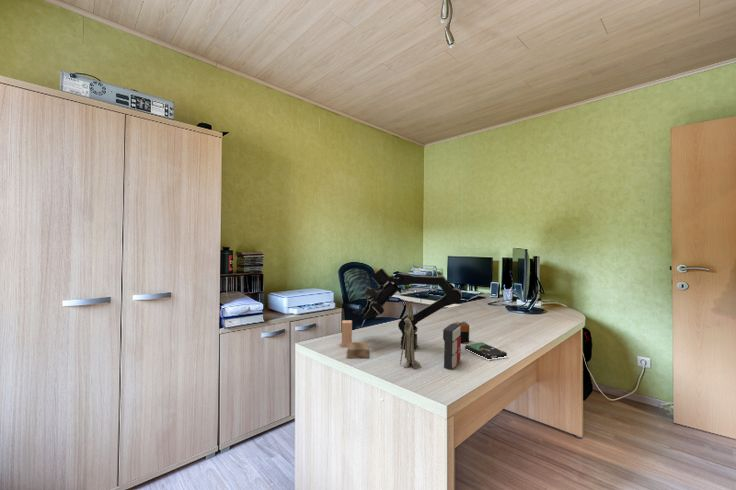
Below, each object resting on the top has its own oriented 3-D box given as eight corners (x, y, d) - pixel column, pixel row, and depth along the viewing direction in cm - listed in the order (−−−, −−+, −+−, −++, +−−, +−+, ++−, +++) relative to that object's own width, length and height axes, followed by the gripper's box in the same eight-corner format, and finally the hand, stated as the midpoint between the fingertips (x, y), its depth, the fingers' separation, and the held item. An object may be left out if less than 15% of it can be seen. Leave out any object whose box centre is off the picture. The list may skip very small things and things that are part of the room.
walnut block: (367, 351, 136) (367, 342, 136) (369, 359, 127) (369, 349, 127) (347, 351, 135) (347, 342, 135) (347, 359, 126) (347, 349, 126)
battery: (469, 343, 149) (469, 322, 149) (456, 343, 148) (456, 323, 148) (464, 340, 154) (465, 320, 153) (452, 340, 152) (452, 320, 152)
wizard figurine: (395, 360, 125) (396, 299, 125) (414, 358, 127) (416, 298, 127) (404, 370, 115) (405, 304, 115) (425, 368, 117) (426, 303, 117)
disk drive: (507, 359, 131) (481, 347, 145) (507, 352, 131) (482, 341, 145) (488, 362, 127) (464, 350, 141) (488, 355, 127) (464, 344, 141)
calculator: (453, 370, 116) (454, 331, 116) (442, 367, 119) (443, 329, 119) (461, 361, 126) (462, 324, 126) (450, 359, 128) (451, 323, 128)
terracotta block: (351, 343, 145) (351, 320, 145) (351, 346, 140) (352, 322, 140) (341, 343, 145) (342, 320, 144) (341, 346, 140) (342, 322, 140)
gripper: (372, 278, 153) (350, 300, 152) (376, 283, 134) (351, 308, 133) (387, 294, 153) (365, 316, 153) (394, 301, 135) (368, 326, 134)
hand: (362, 316), depth 143 cm, fingers open, 9 cm apart
